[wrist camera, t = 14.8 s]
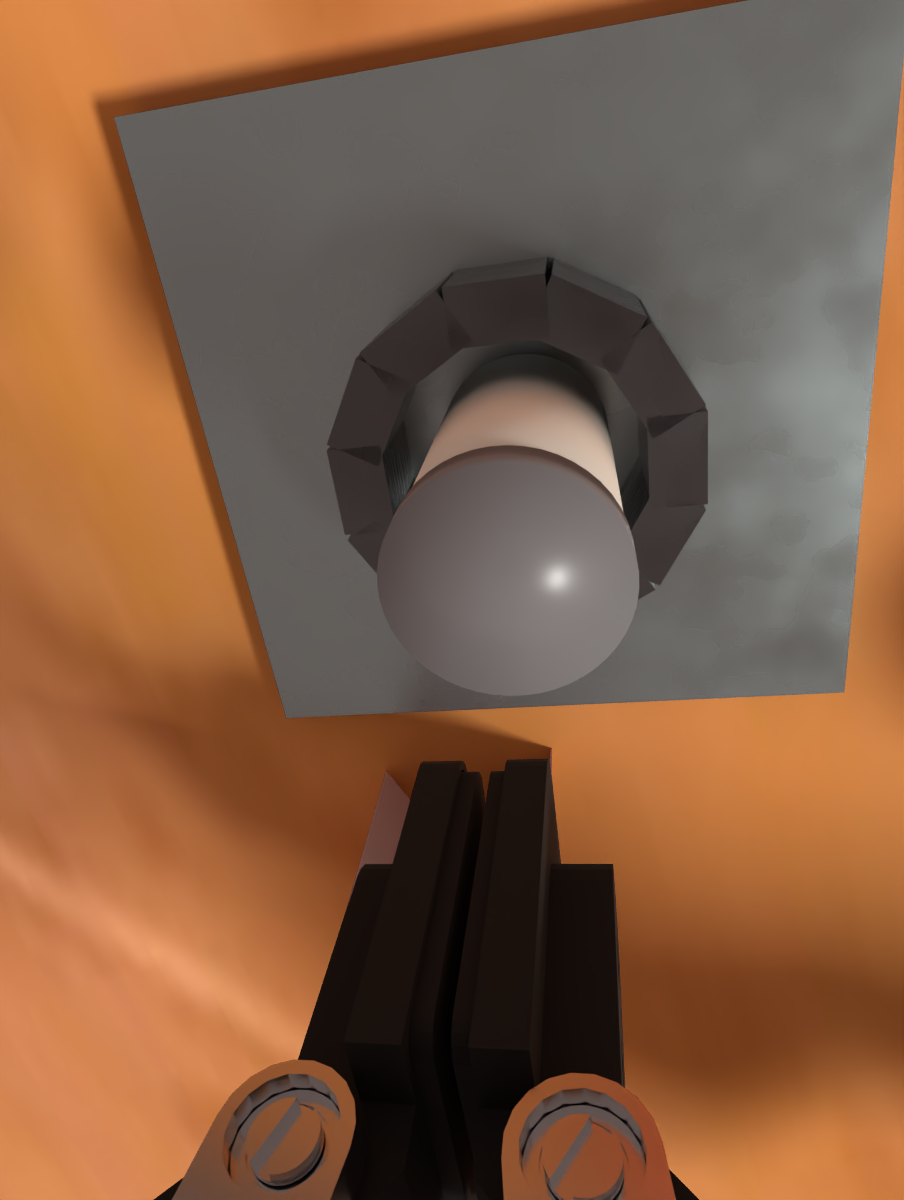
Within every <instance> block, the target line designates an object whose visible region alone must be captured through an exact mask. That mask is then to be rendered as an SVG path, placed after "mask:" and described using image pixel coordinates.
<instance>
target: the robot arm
mask: <svg viewBox="0 0 904 1200" xmlns="http://www.w3.org/2000/svg"><path fill="white" fill-rule="evenodd" d="M154 1200H699V1199H698V1198H697V1197H696V1196H695V1195H694V1194H693V1193H692V1192H691V1191H690V1190H689V1189H688V1188H687V1187H686V1186H685V1185H684V1184H683V1183H682V1182H681V1181H680V1180H679V1179H678V1178H677V1177H676V1176H675V1175H674V1174H673V1173H672V1172H671V1171H670V1170H669V1167H668V1163H667V1159H666V1154H665V1150H664V1145H663V1142H662V1139H661V1137H660V1134H659V1132H658V1129H657V1126H656V1124H655V1121H654V1119H653V1117H652V1116H651V1114H650V1113H649V1112H648V1111H647V1109H646V1108H645V1107H644V1105H643V1104H642V1103H641V1101H640V1100H639V1099H638V1098H637V1097H636V1096H635V1095H633V1094H632V1093H631V1092H629V1091H628V1090H627V1089H625V1075H624V1053H623V1030H622V1008H621V986H620V964H619V946H618V928H617V912H616V897H615V883H614V869H613V864H561V859H560V850H559V841H558V831H557V822H556V813H555V803H554V794H553V785H552V775H551V767H550V761H549V759H527V760H507V762H506V766H505V771H492V772H491V774H490V779H489V785H488V791H487V798H486V803H485V797H484V790H483V784H482V778H481V774H480V772H467V769H466V765H465V763H464V762H463V761H440V762H422V763H421V765H420V767H419V770H418V774H417V777H416V781H415V784H414V788H413V792H412V795H411V799H410V803H409V806H408V810H407V813H406V817H405V821H404V824H403V828H402V831H401V835H400V839H399V842H398V846H397V849H396V853H395V857H394V860H393V864H365V865H364V866H363V867H362V868H361V869H360V871H359V874H358V876H357V878H356V881H355V885H354V888H353V891H352V894H351V897H350V900H349V903H348V906H347V909H346V912H345V916H344V919H343V922H342V925H341V928H340V931H339V934H338V937H337V940H336V943H335V947H334V950H333V953H332V956H331V959H330V962H329V965H328V968H327V971H326V974H325V978H324V981H323V984H322V987H321V990H320V993H319V996H318V999H317V1002H316V1005H315V1009H314V1012H313V1015H312V1018H311V1021H310V1024H309V1027H308V1030H307V1033H306V1036H305V1040H304V1043H303V1046H302V1049H301V1052H300V1055H299V1058H298V1060H290V1061H286V1062H282V1063H278V1064H274V1065H271V1066H269V1067H267V1068H266V1069H264V1070H262V1071H260V1072H258V1073H257V1074H255V1075H253V1076H251V1077H250V1078H249V1079H248V1080H246V1081H245V1082H244V1083H243V1084H242V1085H241V1086H240V1087H239V1088H238V1089H237V1090H235V1091H234V1092H233V1093H232V1094H231V1096H230V1097H229V1098H228V1100H227V1101H226V1103H225V1104H224V1106H223V1107H222V1109H221V1110H220V1111H219V1113H218V1114H217V1116H216V1118H215V1120H214V1122H213V1124H212V1125H211V1127H210V1129H209V1131H208V1133H207V1135H206V1137H205V1139H204V1140H203V1142H202V1144H201V1146H200V1148H199V1150H198V1152H197V1154H196V1155H195V1157H194V1159H193V1161H192V1163H191V1165H190V1167H189V1169H188V1170H187V1172H186V1174H185V1176H184V1178H182V1179H181V1180H180V1181H178V1182H177V1183H176V1184H174V1185H173V1186H171V1187H170V1188H169V1189H167V1190H166V1191H165V1192H163V1193H162V1194H161V1195H159V1196H158V1197H157V1198H155V1199H154Z"/></svg>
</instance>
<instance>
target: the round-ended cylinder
mask: <svg viewBox="0 0 904 1200" xmlns="http://www.w3.org/2000/svg"><path fill="white" fill-rule="evenodd" d="M377 587H378V593H379V599H380V603H381V606H382V609H383V612H384V615H385V617H386V619H387V622H388V624H389V626H390V628H391V630H392V631H393V633H394V634H395V636H396V637H397V639H398V640H399V642H400V643H401V644H402V645H403V647H404V648H405V649H406V650H407V651H408V653H409V654H410V655H412V656H413V657H414V658H415V659H416V660H417V661H418V662H419V663H420V664H421V665H423V666H424V667H426V668H427V669H428V670H430V671H431V672H432V673H434V674H436V675H437V676H439V677H441V678H443V679H444V680H446V681H448V682H451V683H453V684H455V685H458V686H460V687H463V688H466V689H469V690H473V691H476V692H481V693H486V694H492V695H503V696H521V695H531V694H538V693H543V692H546V691H550V690H554V689H557V688H560V687H562V686H565V685H568V684H570V683H572V682H574V681H576V680H578V679H580V678H582V677H584V676H585V675H587V674H588V673H589V672H591V671H592V670H594V669H595V668H597V667H598V666H599V665H600V664H601V663H602V662H603V661H604V660H606V659H607V658H608V657H609V656H610V654H611V653H612V652H613V651H614V650H615V649H616V647H617V646H618V645H619V643H620V642H621V640H622V639H623V637H624V636H625V634H626V632H627V630H628V628H629V626H630V624H631V622H632V619H633V616H634V613H635V610H636V606H637V601H638V594H639V569H638V563H637V557H636V552H635V546H634V541H633V536H632V533H631V530H630V527H629V523H628V521H627V519H626V517H625V515H624V513H623V508H622V502H621V496H620V490H619V485H618V479H617V473H616V467H615V462H614V456H613V450H612V444H611V438H610V433H609V427H608V421H607V415H606V412H605V409H604V406H603V403H602V401H601V399H600V397H599V395H598V393H597V392H596V390H595V389H594V387H593V386H592V385H591V383H590V382H589V381H588V380H587V379H586V378H585V377H584V376H583V375H582V374H581V373H580V372H578V371H577V370H576V369H574V368H573V367H571V366H570V365H568V364H566V363H564V362H562V361H560V360H558V359H555V358H552V357H548V356H544V355H538V354H515V355H510V356H505V357H501V358H499V359H496V360H493V361H491V362H489V363H487V364H485V365H484V366H482V367H480V368H479V369H478V370H476V371H475V372H473V373H472V374H471V375H470V376H469V377H468V378H467V379H466V380H465V381H464V382H463V384H462V385H461V386H460V387H459V389H458V390H457V392H456V393H455V395H454V397H453V398H452V401H451V403H450V405H449V407H448V409H447V412H446V414H445V416H444V418H443V421H442V423H441V425H440V427H439V429H438V432H437V434H436V436H435V438H434V440H433V443H432V445H431V447H430V449H429V452H428V454H427V456H426V458H425V460H424V463H423V465H422V467H421V469H420V471H419V474H418V476H417V478H416V480H415V483H414V485H413V487H412V488H411V489H410V490H409V492H408V493H407V494H406V495H405V497H404V498H403V500H402V502H401V503H400V505H399V507H398V508H397V510H396V513H395V515H394V517H393V519H392V521H391V523H390V525H389V528H388V530H387V532H386V535H385V537H384V539H383V542H382V545H381V549H380V553H379V557H378V566H377Z"/></svg>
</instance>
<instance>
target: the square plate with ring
mask: <svg viewBox="0 0 904 1200" xmlns="http://www.w3.org/2000/svg"><path fill="white" fill-rule="evenodd" d="M903 59H904V0H746V1H741V2H736V3H730V4H725V5H719V6H714V7H708V8H703V9H698V10H692V11H687V12H681V13H676V14H671V15H665V16H660V17H654V18H649V19H644V20H638V21H633V22H627V23H622V24H616V25H611V26H606V27H600V28H595V29H589V30H584V31H579V32H573V33H568V34H562V35H557V36H551V37H546V38H541V39H535V40H530V41H524V42H519V43H514V44H508V45H503V46H497V47H492V48H487V49H481V50H476V51H470V52H465V53H459V54H454V55H449V56H443V57H438V58H432V59H427V60H422V61H416V62H411V63H405V64H400V65H395V66H389V67H384V68H378V69H373V70H367V71H362V72H357V73H351V74H346V75H340V76H335V77H330V78H324V79H319V80H313V81H308V82H302V83H297V84H292V85H286V86H281V87H275V88H270V89H265V90H259V91H254V92H248V93H243V94H238V95H232V96H227V97H221V98H216V99H210V100H205V101H200V102H194V103H189V104H183V105H178V106H173V107H167V108H162V109H156V110H151V111H145V112H140V113H135V114H129V115H124V116H118V117H114V119H115V123H116V126H117V130H118V133H119V137H120V140H121V144H122V147H123V151H124V154H125V158H126V161H127V164H128V168H129V171H130V175H131V178H132V182H133V185H134V189H135V192H136V196H137V199H138V203H139V206H140V210H141V213H142V217H143V220H144V224H145V227H146V231H147V234H148V238H149V241H150V245H151V248H152V252H153V255H154V259H155V262H156V266H157V269H158V273H159V276H160V280H161V283H162V286H163V290H164V293H165V297H166V300H167V304H168V307H169V311H170V314H171V318H172V321H173V325H174V328H175V332H176V335H177V339H178V342H179V346H180V349H181V353H182V356H183V360H184V363H185V367H186V370H187V374H188V377H189V381H190V384H191V388H192V391H193V395H194V398H195V402H196V405H197V409H198V412H199V415H200V419H201V422H202V426H203V429H204V433H205V436H206V440H207V443H208V447H209V450H210V454H211V457H212V461H213V464H214V468H215V471H216V475H217V478H218V482H219V485H220V489H221V492H222V496H223V499H224V503H225V506H226V510H227V513H228V517H229V520H230V524H231V527H232V531H233V534H234V537H235V541H236V544H237V548H238V551H239V555H240V558H241V562H242V565H243V569H244V572H245V576H246V579H247V583H248V586H249V590H250V593H251V597H252V600H253V604H254V607H255V611H256V614H257V618H258V621H259V625H260V628H261V632H262V635H263V639H264V642H265V646H266V649H267V653H268V656H269V659H270V663H271V666H272V670H273V673H274V677H275V680H276V684H277V687H278V691H279V694H280V698H281V701H282V705H283V708H284V712H285V715H286V718H298V717H320V716H341V715H363V714H385V713H406V712H428V711H450V710H472V709H493V708H515V707H537V706H558V705H580V704H602V703H623V702H645V701H667V700H689V699H710V698H732V697H754V696H775V695H797V694H819V693H840V692H844V689H845V678H846V667H847V657H848V646H849V635H850V625H851V614H852V603H853V593H854V582H855V571H856V561H857V550H858V539H859V529H860V518H861V507H862V497H863V486H864V475H865V465H866V454H867V443H868V433H869V422H870V411H871V400H872V390H873V379H874V368H875V358H876V347H877V336H878V326H879V315H880V304H881V294H882V283H883V272H884V262H885V251H886V240H887V230H888V219H889V208H890V198H891V187H892V176H893V166H894V155H895V144H896V133H897V123H898V112H899V101H900V91H901V80H902V69H903ZM515 354H538V355H544V356H548V357H552V358H555V359H558V360H560V361H562V362H564V363H566V364H568V365H570V366H571V367H573V368H574V369H576V370H577V371H578V372H580V373H581V374H582V375H583V376H584V377H585V378H586V379H587V380H588V381H589V382H590V383H591V385H592V386H593V387H594V389H595V390H596V392H597V393H598V395H599V397H600V399H601V401H602V403H603V406H604V409H605V412H606V415H607V421H608V427H609V433H610V438H611V444H612V450H613V456H614V462H615V467H616V473H617V479H618V485H619V490H620V496H621V502H622V508H623V513H624V515H625V517H626V519H627V521H628V523H629V527H630V530H631V533H632V536H633V541H634V546H635V552H636V557H637V563H638V569H639V594H638V601H637V606H636V610H635V613H634V616H633V619H632V622H631V624H630V626H629V628H628V630H627V632H626V634H625V636H624V637H623V639H622V640H621V642H620V643H619V645H618V646H617V647H616V649H615V650H614V651H613V652H612V653H611V654H610V656H609V657H608V658H607V659H606V660H604V661H603V662H602V663H601V664H600V665H599V666H598V667H597V668H595V669H594V670H592V671H591V672H589V673H588V674H587V675H585V676H584V677H582V678H580V679H578V680H576V681H574V682H572V683H570V684H568V685H565V686H562V687H560V688H557V689H554V690H550V691H546V692H543V693H538V694H531V695H521V696H503V695H492V694H486V693H481V692H476V691H473V690H469V689H466V688H463V687H460V686H458V685H455V684H453V683H451V682H448V681H446V680H444V679H443V678H441V677H439V676H437V675H436V674H434V673H432V672H431V671H430V670H428V669H427V668H426V667H424V666H423V665H421V664H420V663H419V662H418V661H417V660H416V659H415V658H414V657H413V656H412V655H410V654H409V653H408V651H407V650H406V649H405V648H404V647H403V645H402V644H401V643H400V642H399V640H398V639H397V637H396V636H395V634H394V633H393V631H392V630H391V628H390V626H389V624H388V622H387V619H386V617H385V615H384V612H383V609H382V606H381V603H380V599H379V593H378V587H377V566H378V557H379V553H380V549H381V545H382V542H383V539H384V537H385V535H386V532H387V530H388V528H389V525H390V523H391V521H392V519H393V517H394V515H395V513H396V510H397V508H398V507H399V505H400V503H401V502H402V500H403V498H404V497H405V495H406V494H407V493H408V492H409V490H410V489H411V488H412V487H413V485H414V483H415V480H416V478H417V476H418V474H419V471H420V469H421V467H422V465H423V463H424V460H425V458H426V456H427V454H428V452H429V449H430V447H431V445H432V443H433V440H434V438H435V436H436V434H437V432H438V429H439V427H440V425H441V423H442V421H443V418H444V416H445V414H446V412H447V409H448V407H449V405H450V403H451V401H452V398H453V397H454V395H455V393H456V392H457V390H458V389H459V387H460V386H461V385H462V384H463V382H464V381H465V380H466V379H467V378H468V377H469V376H470V375H471V374H472V373H473V372H475V371H476V370H478V369H479V368H480V367H482V366H484V365H485V364H487V363H489V362H491V361H493V360H496V359H499V358H501V357H505V356H510V355H515Z"/></svg>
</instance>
